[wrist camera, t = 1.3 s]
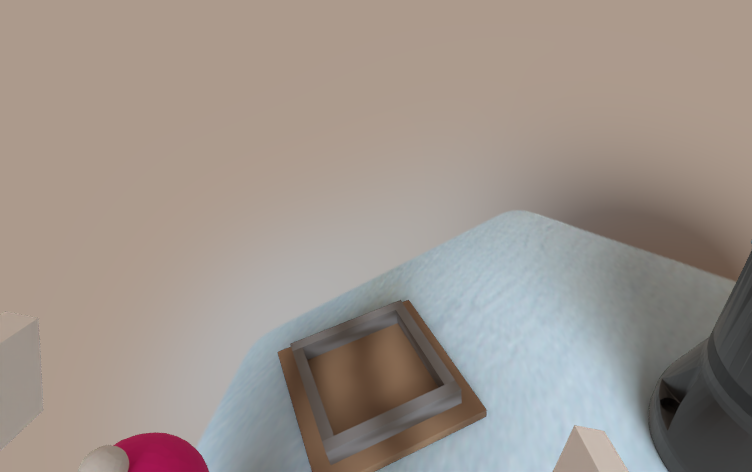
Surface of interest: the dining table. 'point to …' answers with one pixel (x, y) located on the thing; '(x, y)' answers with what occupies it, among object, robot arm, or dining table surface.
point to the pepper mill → (145, 456)
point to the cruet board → (375, 390)
